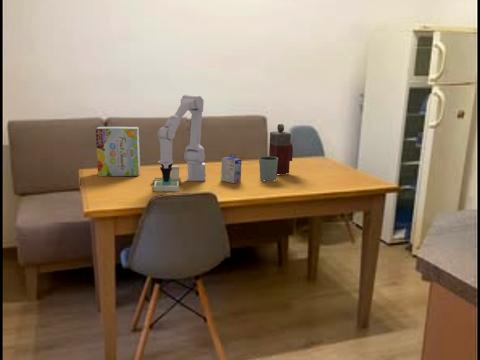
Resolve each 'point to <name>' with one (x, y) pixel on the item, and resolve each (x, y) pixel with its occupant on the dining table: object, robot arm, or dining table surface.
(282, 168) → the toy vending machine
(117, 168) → the snack box
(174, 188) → the tray
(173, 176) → the block
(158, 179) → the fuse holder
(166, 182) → the block
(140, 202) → the dining table surface
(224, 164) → the ink cartridge box
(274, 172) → the drinking glass
